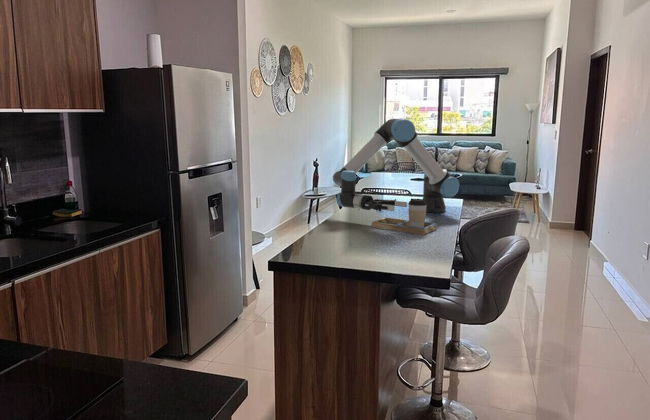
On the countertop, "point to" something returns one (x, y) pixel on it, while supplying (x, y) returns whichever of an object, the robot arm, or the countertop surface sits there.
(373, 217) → the countertop surface
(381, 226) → the oak rack
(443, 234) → the countertop surface
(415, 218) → the coffee cup
